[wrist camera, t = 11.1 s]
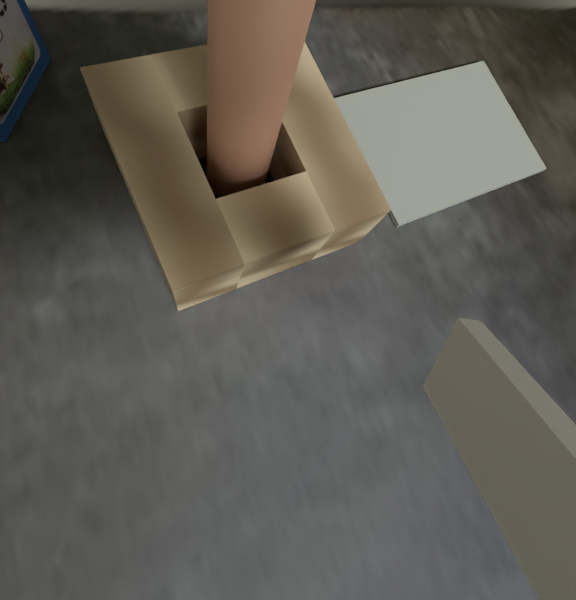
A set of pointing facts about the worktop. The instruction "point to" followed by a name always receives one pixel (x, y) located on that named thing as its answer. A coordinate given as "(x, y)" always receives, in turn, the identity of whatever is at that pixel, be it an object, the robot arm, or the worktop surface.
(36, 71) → the milk carton
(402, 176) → the mat
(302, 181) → the hole block
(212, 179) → the peg
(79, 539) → the worktop surface
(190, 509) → the worktop surface
